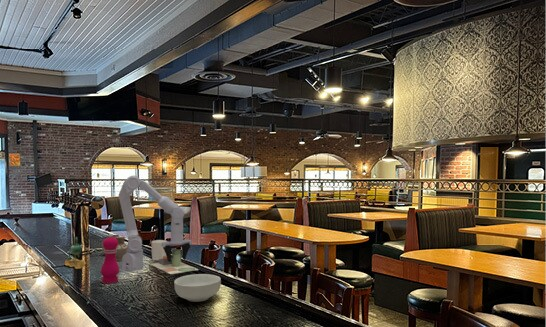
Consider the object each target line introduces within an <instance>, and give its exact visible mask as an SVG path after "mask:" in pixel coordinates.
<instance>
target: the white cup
mask: <svg viewBox="0 0 546 327" xmlns="http://www.w3.org/2000/svg"><path fill="white" fill-rule="evenodd" d="M162 242H168V241H167V240H166V239H164V240H163V239H156V240H152V241H151V244H150V245H151V257H152V258H151V259H152V261H159V259H163V256H166V253H165V251H164V249H163V247H162Z"/></svg>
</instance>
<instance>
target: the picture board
mask: <svg viewBox="0 0 546 327" xmlns="http://www.w3.org/2000/svg"><path fill="white" fill-rule="evenodd" d="M150 265H151V266H153V267H155V268H157V269H159V270H161V271H163V272H166V273H167V274H170V275H175V274H181V273H187V272H189V273H190V272H193V271H194V272H195V271H199V269H198V268H196V267H193V266H190V265H188V263H187V264H186V263H184V262H182V261H181V266H177V267H174V266H172V257H171V262H168V260H165V261H164V260H163V259H159V260H158V262H154V263H150Z"/></svg>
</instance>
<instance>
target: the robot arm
mask: <svg viewBox="0 0 546 327" xmlns="http://www.w3.org/2000/svg"><path fill="white" fill-rule="evenodd" d="M137 189H138V190H139V191H143V192H146V193H147V194H148V195H149V196H150V197H152V198H154V200H156V202H157V204H158V207H160V208H161V209H162V210H164V212H166V213H167V214H168V215H169V214H170V216H171V223H170V240H169V241H167V242H162V247H163V249H164V251H165V253H166V256H167V260H168V262H171V258H172V250H173V248H172V246H173V247H174V246H181V260H184V261H185V260H187V254H188V252H189V250H190V248H191V244H192V239H184V216H185V213H184V210H183V209H182V208H181V206H179V204H178V203H175V202H174V201H173V200H172V198H171V197H170V196H167V195H165V196H162V194H160V193H159V192H158V191H157V190H156V189H155V188H154V187H153V186H151V185H150V184H149V183H148V182H147V181H145V180H144V179H140V178H139V176H137V175H129V176H128V177H127V178H126V179H125V181H123V183H122V186H121V188H120V191H119V193H118V199H119V204H120V207H121V212H122V216H123V220H124V225H125V229H126V233H127V240H128V241H127V244H126V245H127V246H128V249H127V252H126V254H124V255H123V257H122V261H121V271H125V272H135V271H137V270H138V271H139V270H141V269H143V267H144V266H143V264H144V262H143V260H144V256H143V254H144V249H143V248H142V246H143V238H142V237H141V236H140V234H139V232H138V228H137V224H136V219H135V214H134V211H133V206H132V202H131V198H130V196H131V195H132V194H133V192H134V191H136V190H137Z"/></svg>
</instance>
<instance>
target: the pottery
mask: <svg viewBox="0 0 546 327" xmlns="http://www.w3.org/2000/svg"><path fill="white" fill-rule="evenodd" d="M113 237H114V238H116V239H117V240H118V246H117V247H116V249H117V252H116V261H117V262H122V257H123V255H124V254H126V252H127V249H128V246H127V245H128V244H127V243H125V238H126V236H121V235H119V234H113ZM106 238H109V236H108V235H106ZM101 245H102V246H101V247H102V249H103V250H104V249H105V248H104V247H103V242H102V243H101Z"/></svg>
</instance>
